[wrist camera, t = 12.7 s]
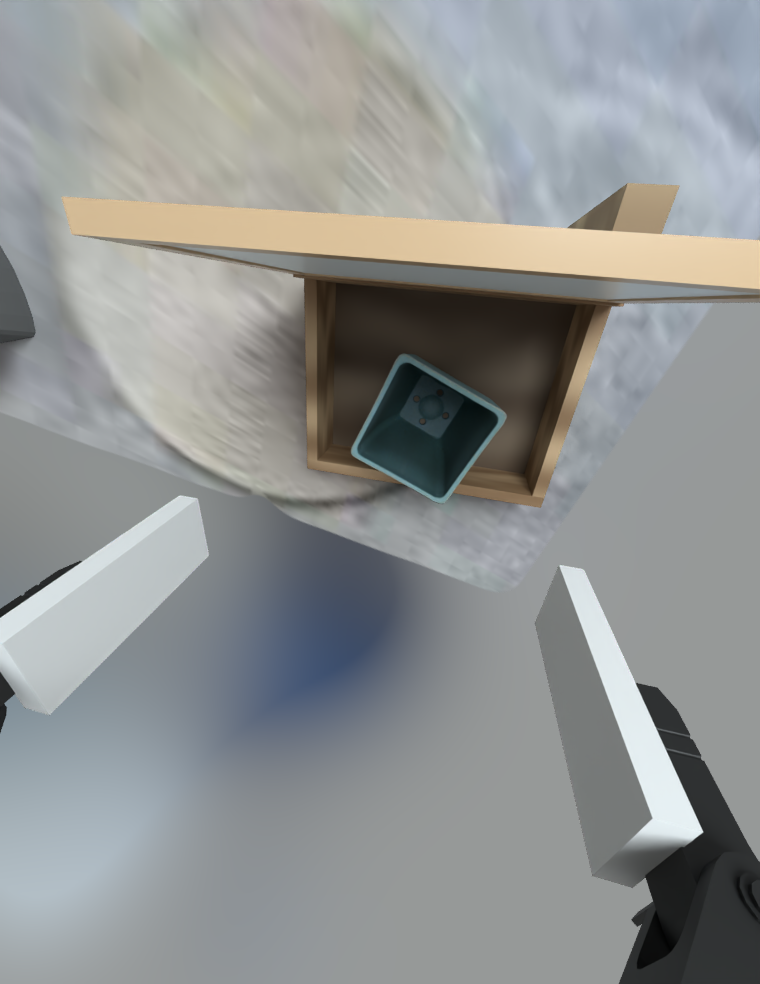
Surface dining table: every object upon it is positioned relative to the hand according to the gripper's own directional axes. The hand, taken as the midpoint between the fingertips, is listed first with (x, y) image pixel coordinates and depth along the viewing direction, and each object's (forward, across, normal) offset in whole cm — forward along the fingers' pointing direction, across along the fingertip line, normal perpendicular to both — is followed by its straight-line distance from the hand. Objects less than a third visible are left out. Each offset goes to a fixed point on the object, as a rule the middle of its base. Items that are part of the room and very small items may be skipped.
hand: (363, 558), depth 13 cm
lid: (+17, +1, +10) cm, 20 cm away
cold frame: (+25, +1, +2) cm, 25 cm away
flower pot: (+25, +1, 0) cm, 25 cm away
